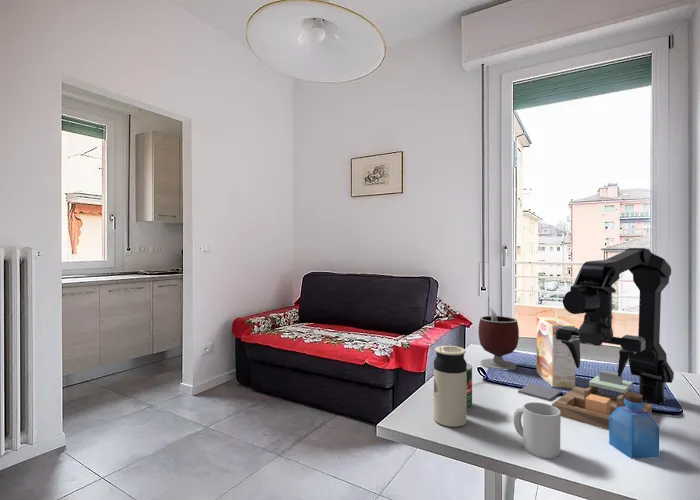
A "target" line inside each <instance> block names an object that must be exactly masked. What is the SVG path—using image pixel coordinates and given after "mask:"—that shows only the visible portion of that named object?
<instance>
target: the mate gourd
mask: <svg viewBox="0 0 700 500" xmlns="http://www.w3.org/2000/svg"><path fill="white" fill-rule="evenodd" d="M489 310H490V311H489V312H490V315H484V316H480V319H479V323H478V340H479V341H478V342H479V344H480V346H481V347H482V349H483V350H484V351H486V352H487V353H488V354H491V355H493V358H485V359H482V360H481V361H480V365H481V366H482V367H484V368H486V369H490V368H495V369H513V370H515V369H516V368H517V364H516V363H515V362H513V361H511V360H508V359H507V360H506V359H504V358H503V356H506V355H508V354H512V353H514V351H515V350H516V349H517V347H518V343H519V340H520V337H519V336H520V331H519V329H520V328H519V324H518V319H517V318H514V317H509V316H503V315H502V316H501V315H497V313H496V312H495V310H494V309H493V308H492V307H489ZM514 368H515V369H514Z"/></svg>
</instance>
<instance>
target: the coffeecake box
mask: <svg viewBox="0 0 700 500" xmlns="http://www.w3.org/2000/svg"><path fill="white" fill-rule="evenodd" d="M564 326H565V327H573V328H576V325H573V324H572V323H569V322H567V321H565V320H563V319H561V318H559V317H556V316H555V317H554V316H553V317H549V316H536V372H537V373H538V374H537V373H536V374H537V375H539V376H540V377H541V378H542V379H543V380H544V381H545V382H546V381H547V382H548V383H549V384H550V385H551V386H553V387H566V388H565V389H572V388H574V387H576V365H575V362H574V359H573V357H572V354H571V352H570V350H569V348H568V347H567V346H566V344H564V343H561V341H562V340H558V339H556V330H557V329H559V328H561V327H564ZM547 382H546V383H547ZM548 383H547V384H548ZM549 384H548V385H549ZM550 385H549V386H550ZM551 386H550V387H551Z"/></svg>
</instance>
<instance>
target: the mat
mask: <svg viewBox="0 0 700 500" xmlns="http://www.w3.org/2000/svg"><path fill="white" fill-rule="evenodd" d="M560 392H561V393H562V390H559V389H556V388H552V387H551V388H550V387H548V386H543V385H539V384H534V383H529V384H527V385H525V386H524V387H522V388H520V389H519V390H518V391H517V393H519V394H522V395H527V396H529V397H534V398H537V399H541V400H545V401H549V402H551V401H552V400H554V399H555V398H556V397H558V396H559V395H560V394H561V393H560Z"/></svg>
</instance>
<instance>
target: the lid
mask: <svg viewBox="0 0 700 500" xmlns="http://www.w3.org/2000/svg"><path fill="white" fill-rule="evenodd" d="M633 384H634V383H633V381H630V380H629V381H628V380H624V379H623V373H622V374H621V376H620V377H619V376H618V372H614V371H607V370H603V369H601V370H599V373H598V374H597V375H595V376H594V377H593V378H592V379H590V380H589V381H588V386H594V387H598V389H602V390H609V391H613V392H617V393H620V394H621V393H626V392H627V391H628V390H629V391H630V389H631V388H632V387H633Z"/></svg>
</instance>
